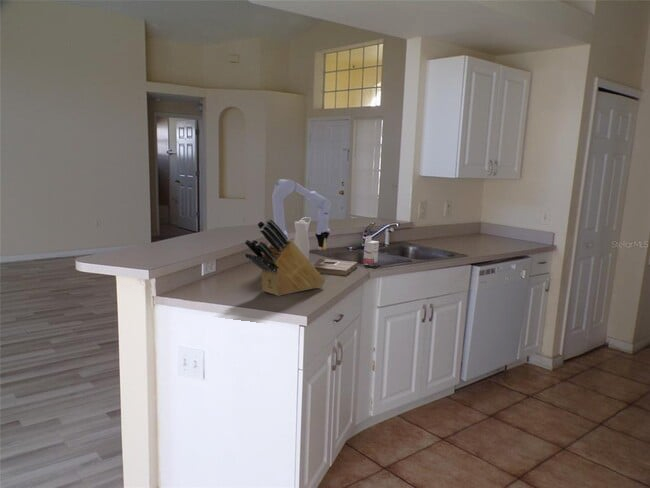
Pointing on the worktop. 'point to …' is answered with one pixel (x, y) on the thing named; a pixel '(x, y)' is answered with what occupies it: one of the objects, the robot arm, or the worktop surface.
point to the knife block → (282, 263)
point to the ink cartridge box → (370, 250)
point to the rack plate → (334, 266)
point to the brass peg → (323, 246)
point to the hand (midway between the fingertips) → (322, 246)
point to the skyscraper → (302, 236)
